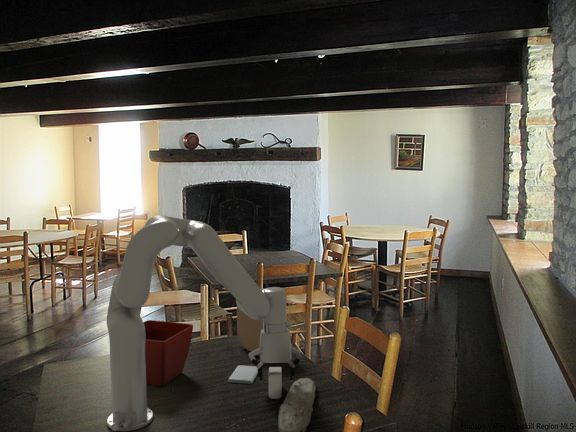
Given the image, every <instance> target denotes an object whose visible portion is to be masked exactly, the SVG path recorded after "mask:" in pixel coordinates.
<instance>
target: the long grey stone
mask: <svg viewBox="0 0 576 432" xmlns="http://www.w3.org/2000/svg"><path fill="white" fill-rule="evenodd" d="M316 389H317V387H316V385H315V381H314V380H313V379H311V378H308V377H304V378H303V377H301V378H298V380H295V381H294V382H293V383H292V384H291V386H290V389H289V390H288V393H287V394H286V396H285V399H284V400H283V402H282V404H281V405H280V406H279V409H278V416H277V418H278V420H277V428H278V432H306V431H307V427H308V426H309V425H310V422H311V418H312V413H313V411H314V408H313V404H314V403H315V402H314V400H315V397H316Z"/></svg>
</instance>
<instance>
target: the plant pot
mask: <svg viewBox="0 0 576 432" xmlns="http://www.w3.org/2000/svg"><path fill="white" fill-rule="evenodd" d="M143 323H144V326H145V332H146V341H145V364H146V385H151V386H152V385H153V386H158V387H163V386H166V385H167V384H168V383H169V382H171V381H172V380H174V379H175V378H177V377H179V375H181V374H182V373H183V371H184V368H185V364H186V362H187V359H188V355H189V352H190V351H189V350H190V346H191V342H192V336H193V330H194V324H192V323H191V324H190V323H183V322H173V321H165V320H164V321H163V320H155V319H148V320H145V321H143Z"/></svg>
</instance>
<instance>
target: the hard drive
mask: <svg viewBox="0 0 576 432" xmlns="http://www.w3.org/2000/svg"><path fill="white" fill-rule="evenodd" d="M257 376H258V368H257V367H256V366H255V365H243V364H241V365H239V364H238V365H237V366H236V368H235V370H234V371H233V372H232V373H231V375H230V376H229V377H228V380H227V382H228V383H233V384H235V383H236V384H245V385H246V384H248V385H250V384H251V385H252V384H253V383H254V380H255V379H256V377H257Z"/></svg>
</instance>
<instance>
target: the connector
mask: <svg viewBox="0 0 576 432" xmlns="http://www.w3.org/2000/svg"><path fill="white" fill-rule="evenodd" d="M282 373H283V372H282V366H269V368H268V373H267V374H268V376H267V377H268V398H269V399H272V400H273V399H274V400H276V399H278V400H279V399H281V398H282V391H283V390H282V389H283V385H282V384H283V383H282V382H283V381H282V380H283V379H282V377H283V376H282Z"/></svg>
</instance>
